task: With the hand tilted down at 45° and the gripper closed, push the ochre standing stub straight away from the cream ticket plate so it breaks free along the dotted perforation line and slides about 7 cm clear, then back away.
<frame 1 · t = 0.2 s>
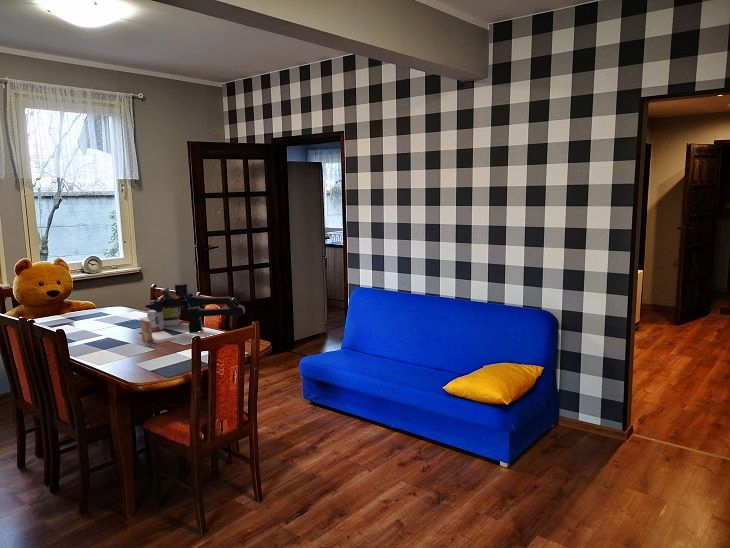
hand: (147, 304, 305), 17 cm above the table, tool horizontal, fingers open, 9 cm apart
ink box: (156, 330, 314), on the table
ticket plate: (160, 338, 297), on the table
stub: (146, 330, 292), point 6 cm above the table, slide at 0.0 cm
tea box: (165, 325, 327), on the table
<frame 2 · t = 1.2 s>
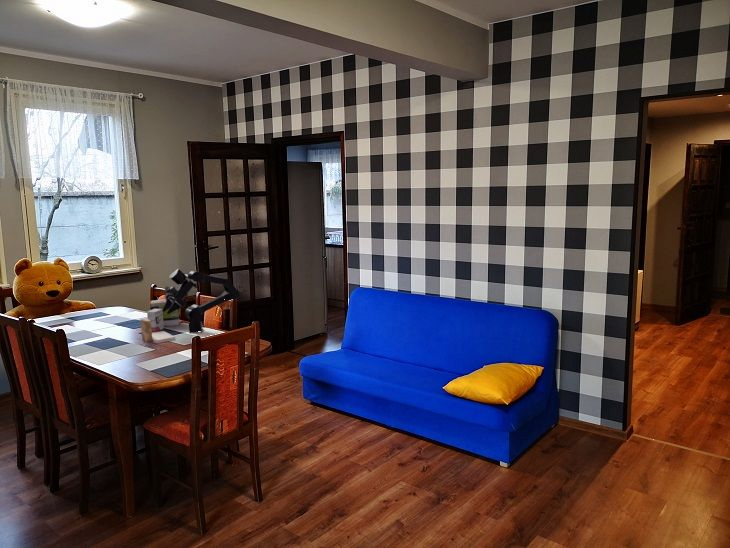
hand: (165, 312, 297), 14 cm above the table, tool tilted 45°, fingers open, 7 cm apart
nothing on the table moved.
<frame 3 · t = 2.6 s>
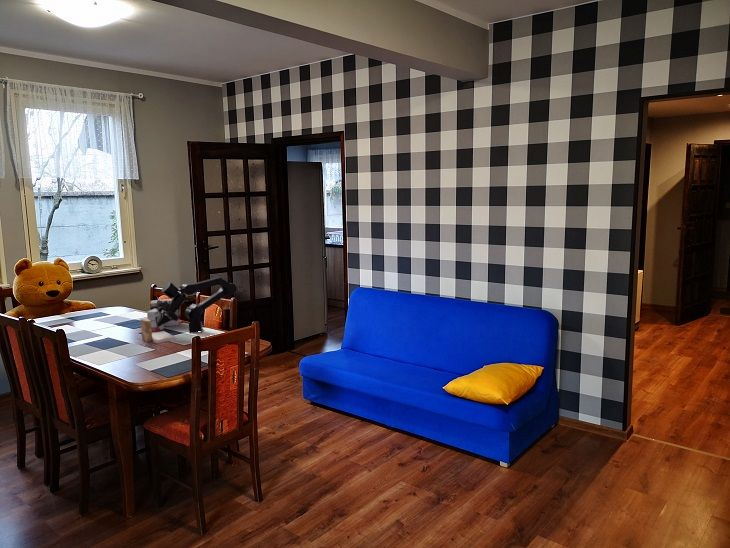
hand: (157, 326, 295), 7 cm above the table, tool tilted 45°, fingers closed
nothing on the table moved.
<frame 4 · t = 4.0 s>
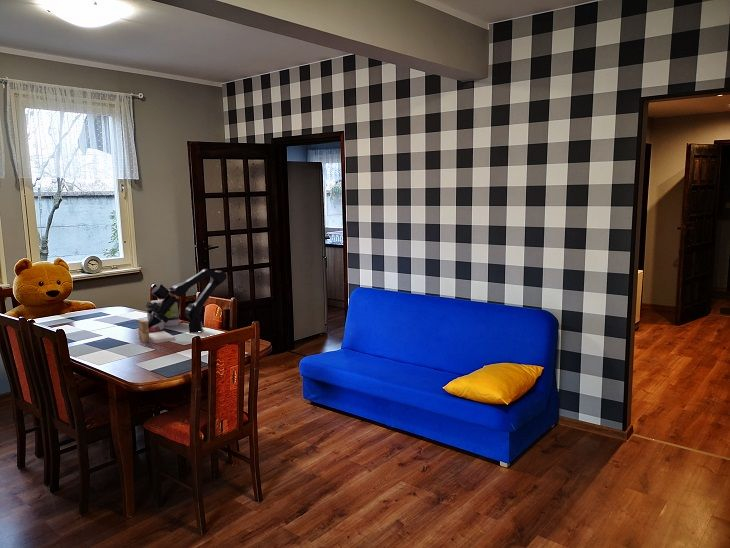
hand: (146, 328, 292), 7 cm above the table, tool tilted 45°, fingers closed, pressing on stub
stub: (143, 330, 291), point 6 cm above the table, slide at 1.5 cm, touching gripper
everything else where it was.
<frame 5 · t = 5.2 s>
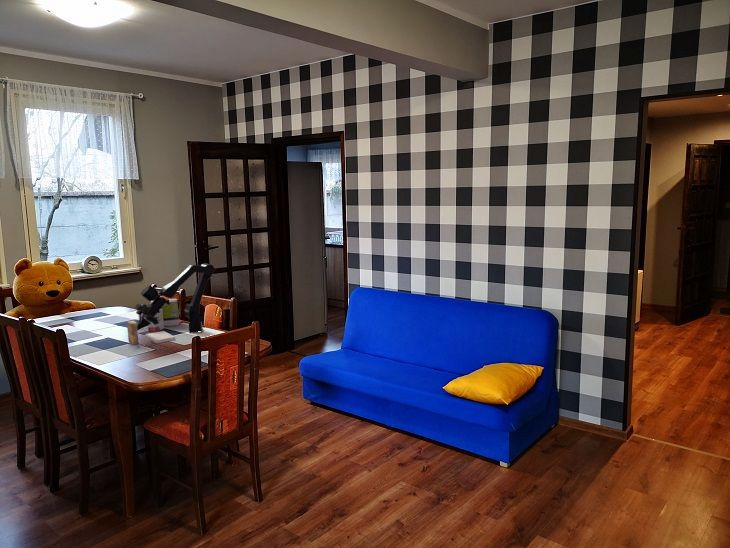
hand: (136, 330, 289), 7 cm above the table, tool tilted 45°, fingers closed
stub: (132, 332, 288), point 6 cm above the table, slide at 7.0 cm
everything else where it was.
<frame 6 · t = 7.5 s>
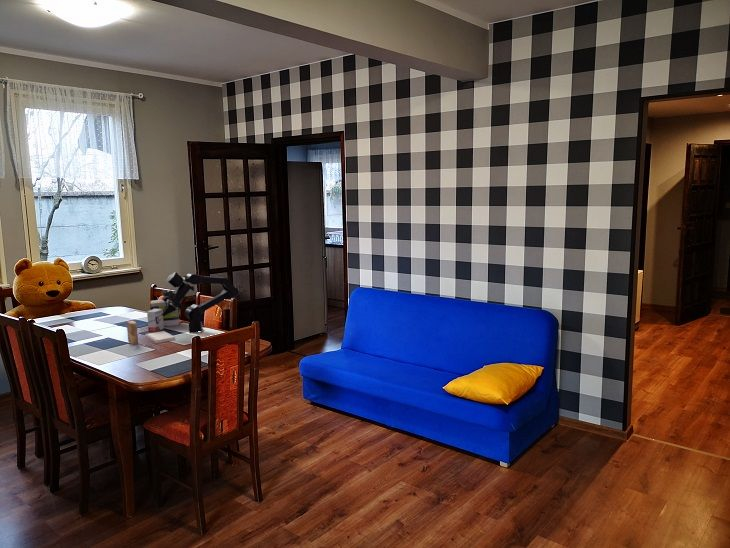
hand: (162, 315, 297), 12 cm above the table, tool tilted 45°, fingers closed
nothing on the table moved.
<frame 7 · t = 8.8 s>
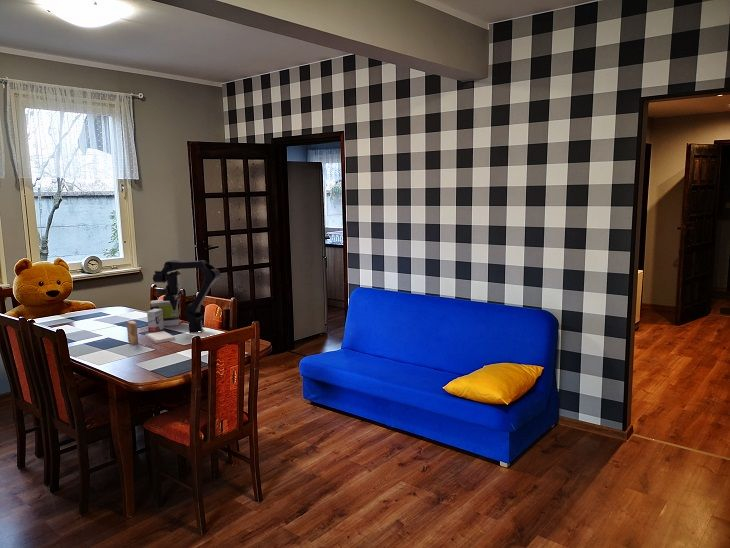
hand: (174, 310, 310), 12 cm above the table, tool pointing down, fingers closed
nothing on the table moved.
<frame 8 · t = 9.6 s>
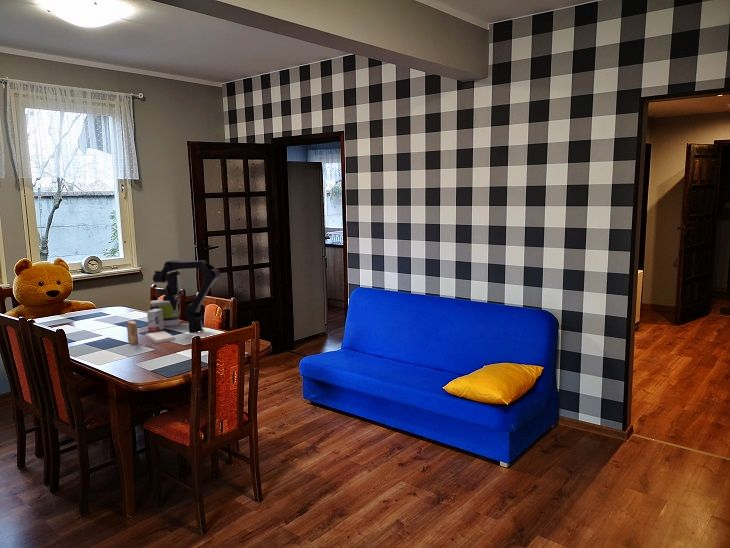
hand: (174, 310, 310), 12 cm above the table, tool pointing down, fingers closed
nothing on the table moved.
at the end: stub slide at 7.2 cm; ink box moved 0.3 cm from its start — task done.
